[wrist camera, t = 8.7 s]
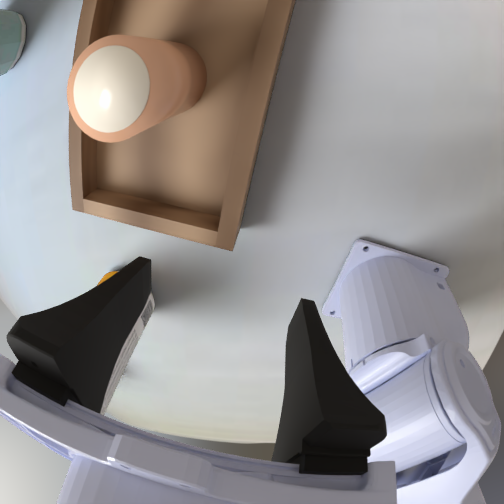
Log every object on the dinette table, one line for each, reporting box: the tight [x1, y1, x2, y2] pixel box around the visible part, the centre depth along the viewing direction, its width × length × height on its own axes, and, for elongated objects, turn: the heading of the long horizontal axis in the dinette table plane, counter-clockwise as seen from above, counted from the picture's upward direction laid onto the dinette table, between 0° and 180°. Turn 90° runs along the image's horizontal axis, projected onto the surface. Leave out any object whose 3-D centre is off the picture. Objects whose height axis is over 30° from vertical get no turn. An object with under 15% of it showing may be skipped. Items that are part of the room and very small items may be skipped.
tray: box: [69, 0, 296, 251], centre depth 16 cm, size 13×20×3 cm, turn 168°
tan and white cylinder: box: [67, 35, 207, 143], centre depth 13 cm, size 5×5×7 cm
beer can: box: [97, 271, 155, 415], centre depth 22 cm, size 6×6×15 cm
